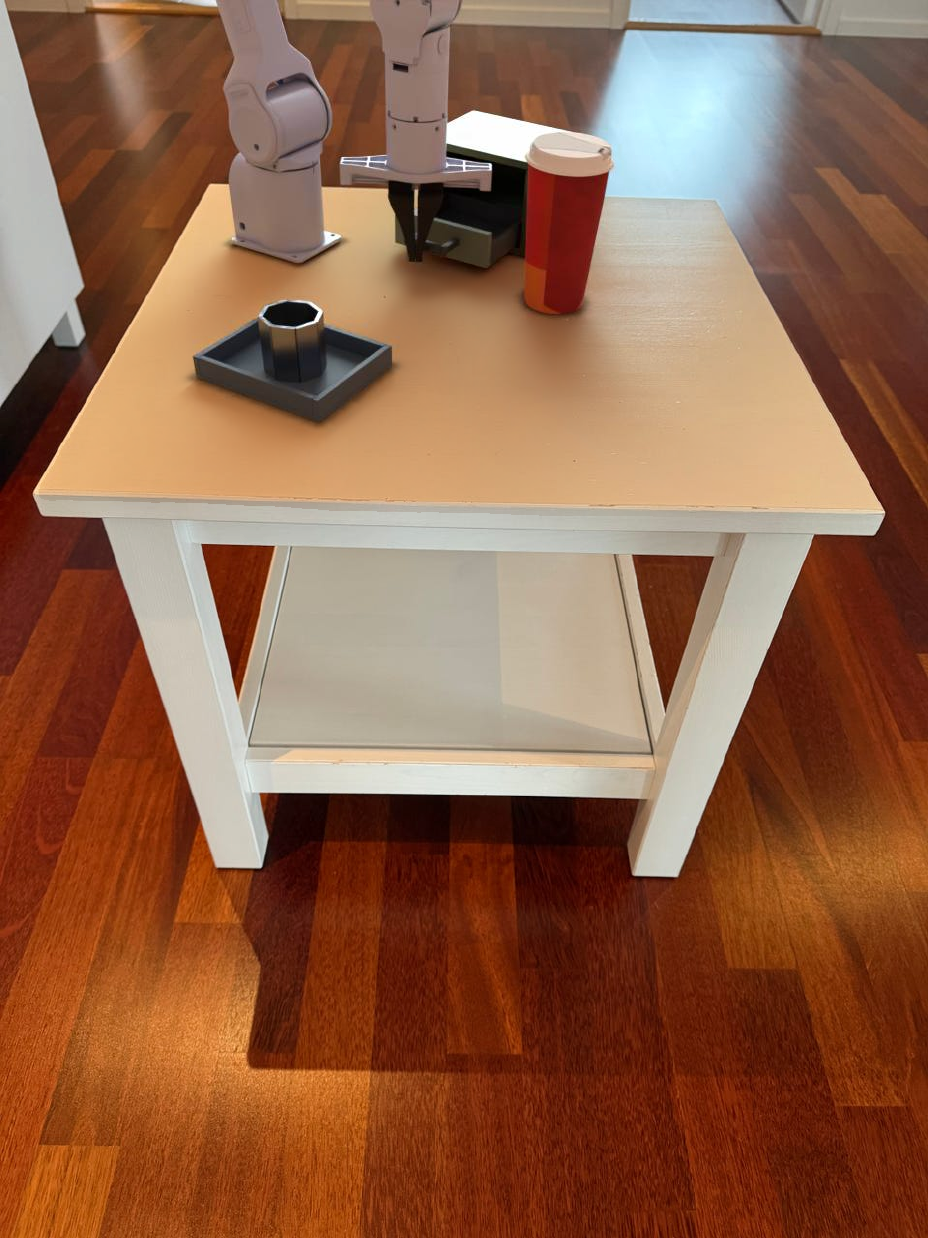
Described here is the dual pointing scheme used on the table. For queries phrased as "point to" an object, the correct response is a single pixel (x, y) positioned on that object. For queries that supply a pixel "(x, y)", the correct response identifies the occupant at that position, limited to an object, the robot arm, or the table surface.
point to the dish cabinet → (496, 158)
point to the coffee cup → (563, 217)
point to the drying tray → (315, 399)
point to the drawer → (470, 230)
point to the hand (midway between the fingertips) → (415, 258)
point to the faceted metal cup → (292, 340)
